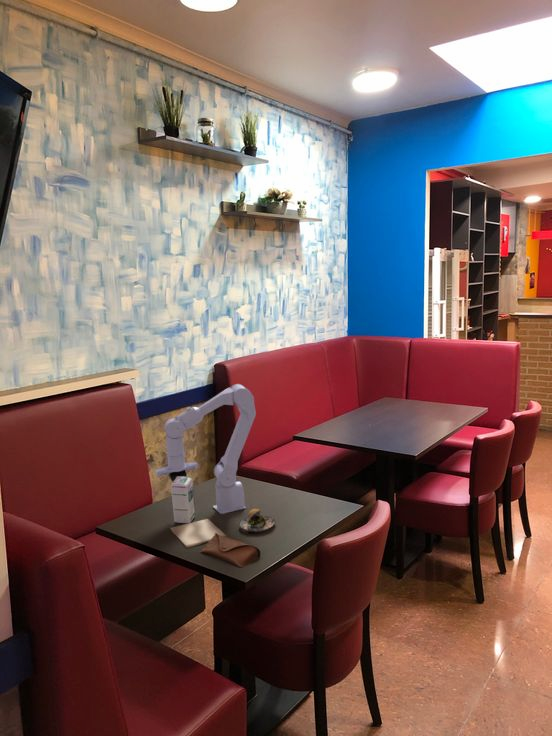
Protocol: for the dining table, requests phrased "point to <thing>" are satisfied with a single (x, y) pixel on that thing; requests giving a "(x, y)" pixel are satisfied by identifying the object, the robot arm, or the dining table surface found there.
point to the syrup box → (183, 499)
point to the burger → (255, 522)
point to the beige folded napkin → (196, 532)
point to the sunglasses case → (231, 550)
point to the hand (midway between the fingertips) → (178, 492)
